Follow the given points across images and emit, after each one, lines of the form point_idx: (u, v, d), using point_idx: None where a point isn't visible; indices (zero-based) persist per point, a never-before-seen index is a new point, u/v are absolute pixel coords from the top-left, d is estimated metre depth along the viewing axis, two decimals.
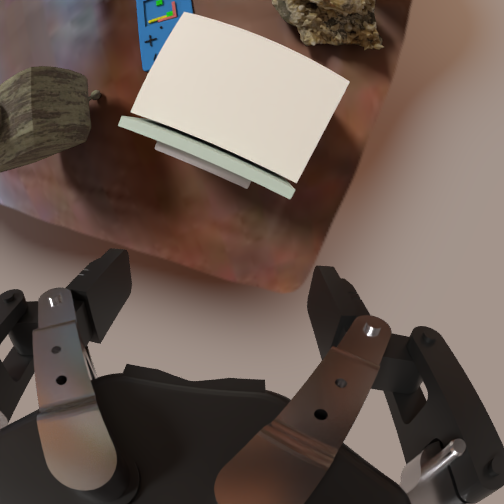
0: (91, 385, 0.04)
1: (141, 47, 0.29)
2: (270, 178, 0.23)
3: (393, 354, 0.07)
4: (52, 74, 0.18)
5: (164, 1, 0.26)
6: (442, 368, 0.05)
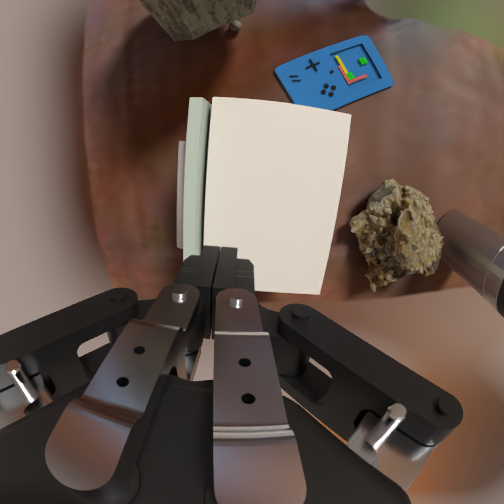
0: (147, 403, 0.04)
1: (302, 57, 0.28)
2: None
3: None
4: None
5: (365, 65, 0.28)
6: (333, 343, 0.06)
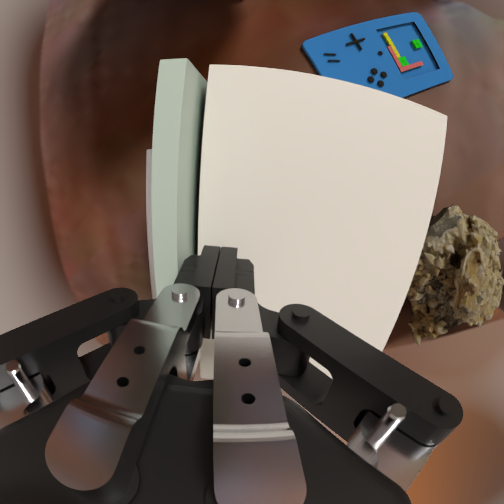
0: (147, 403, 0.04)
1: (341, 30, 0.17)
2: None
3: None
4: None
5: (419, 50, 0.18)
6: (333, 343, 0.06)
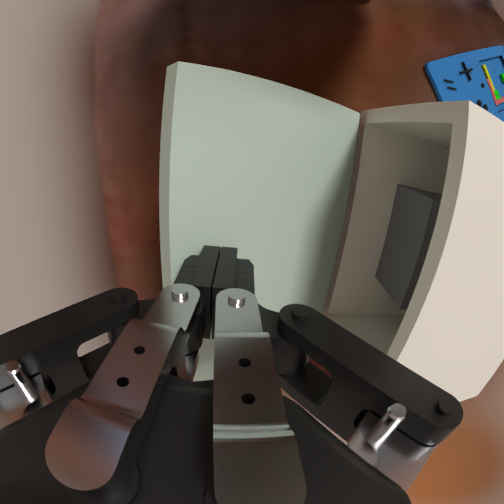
0: (147, 403, 0.04)
1: (454, 57, 0.14)
2: None
3: None
4: None
5: None
6: (333, 343, 0.06)
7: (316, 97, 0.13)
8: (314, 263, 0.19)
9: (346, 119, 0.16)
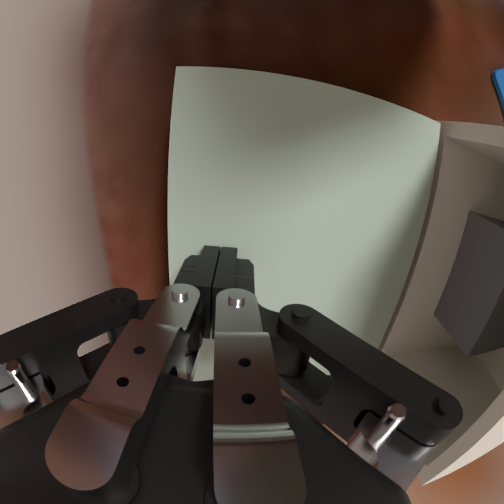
0: (147, 403, 0.04)
1: None
2: None
3: None
4: None
5: None
6: (333, 343, 0.06)
7: (364, 96, 0.10)
8: (362, 298, 0.15)
9: (417, 128, 0.11)
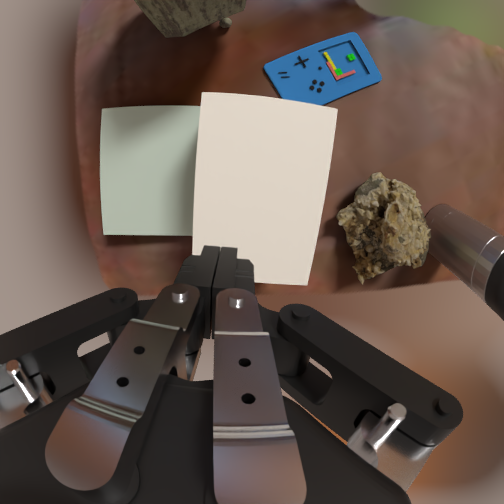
0: (147, 403, 0.04)
1: (291, 54, 0.28)
2: (102, 217, 0.34)
3: None
4: None
5: (353, 61, 0.29)
6: (333, 343, 0.06)
7: (163, 106, 0.29)
8: (176, 188, 0.34)
9: (191, 112, 0.30)
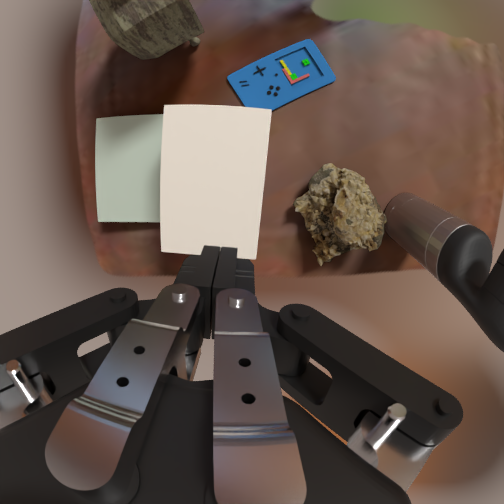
0: (147, 403, 0.04)
1: (250, 65, 0.34)
2: (97, 207, 0.40)
3: None
4: (186, 15, 0.21)
5: (308, 66, 0.35)
6: (333, 343, 0.06)
7: (145, 115, 0.36)
8: (156, 182, 0.40)
9: None
